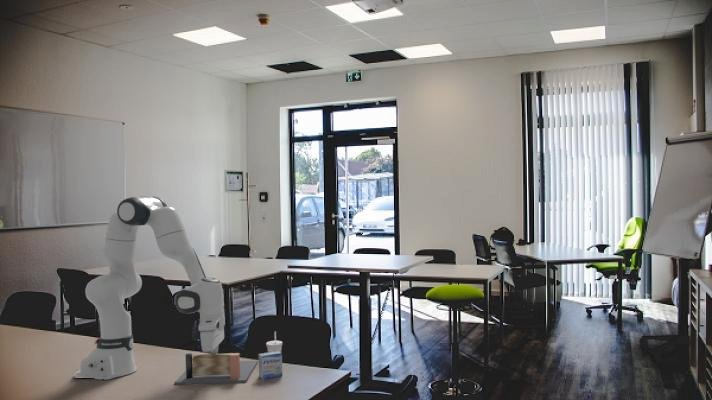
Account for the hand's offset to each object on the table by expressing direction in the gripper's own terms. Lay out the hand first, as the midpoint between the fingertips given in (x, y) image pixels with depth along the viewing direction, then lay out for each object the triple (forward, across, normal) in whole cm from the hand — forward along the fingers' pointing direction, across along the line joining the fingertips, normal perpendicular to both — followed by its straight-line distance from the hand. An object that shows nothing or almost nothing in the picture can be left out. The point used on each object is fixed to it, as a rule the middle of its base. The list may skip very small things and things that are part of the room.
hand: (214, 357), depth 204 cm
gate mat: (+7, -5, 0) cm, 9 cm away
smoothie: (+8, -10, +21) cm, 24 cm away
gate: (+6, +2, +1) cm, 6 cm away
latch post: (+7, +4, +8) cm, 12 cm away
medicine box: (+8, +2, +21) cm, 22 cm away
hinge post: (+7, +2, -9) cm, 12 cm away
